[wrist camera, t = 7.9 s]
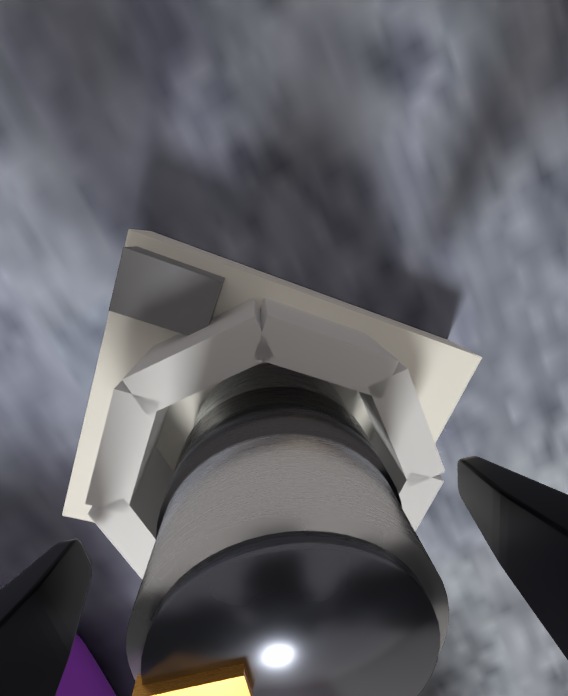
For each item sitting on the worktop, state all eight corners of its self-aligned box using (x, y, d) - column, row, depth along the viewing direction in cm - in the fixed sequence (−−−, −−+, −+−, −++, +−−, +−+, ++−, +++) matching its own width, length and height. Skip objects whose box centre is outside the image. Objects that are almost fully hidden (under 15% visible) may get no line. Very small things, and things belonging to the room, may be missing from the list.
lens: (361, 485, 12) (473, 745, 6) (213, 516, 12) (167, 813, 6) (342, 344, 10) (470, 495, 4) (171, 377, 10) (44, 584, 4)
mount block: (448, 339, 13) (546, 390, 8) (347, 535, 15) (385, 652, 11) (150, 231, 11) (82, 225, 7) (89, 475, 13) (10, 588, 9)
